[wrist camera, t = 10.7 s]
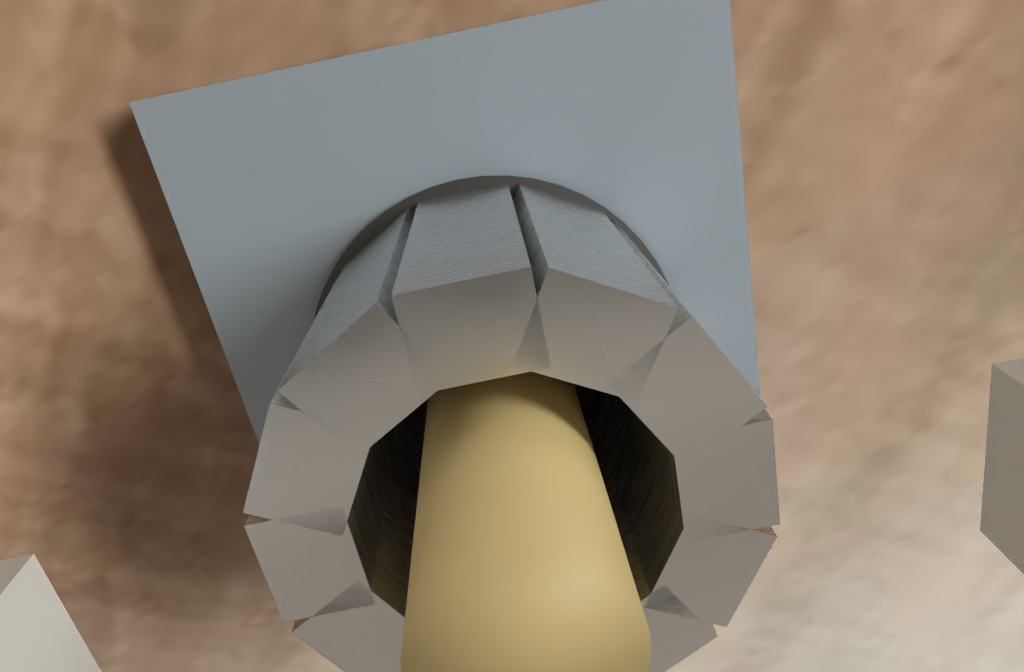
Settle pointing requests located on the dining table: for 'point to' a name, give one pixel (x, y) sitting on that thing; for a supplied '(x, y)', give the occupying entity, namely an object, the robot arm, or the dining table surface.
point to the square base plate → (514, 160)
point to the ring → (494, 354)
